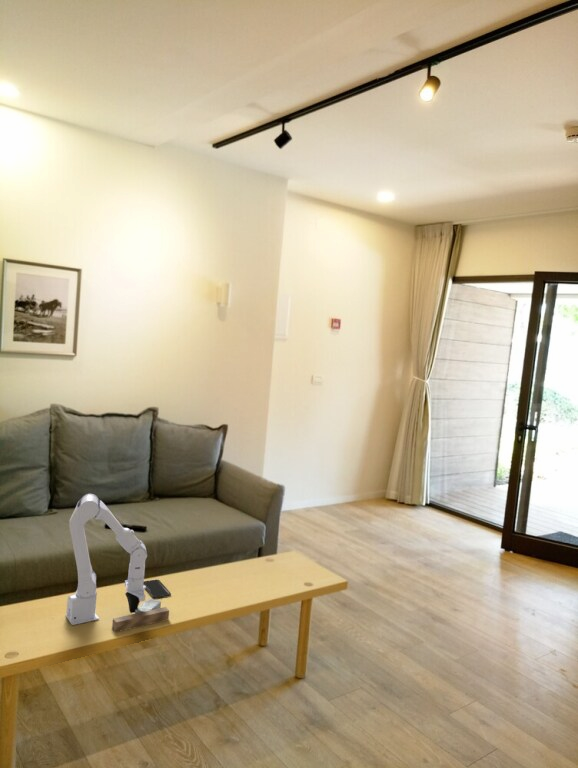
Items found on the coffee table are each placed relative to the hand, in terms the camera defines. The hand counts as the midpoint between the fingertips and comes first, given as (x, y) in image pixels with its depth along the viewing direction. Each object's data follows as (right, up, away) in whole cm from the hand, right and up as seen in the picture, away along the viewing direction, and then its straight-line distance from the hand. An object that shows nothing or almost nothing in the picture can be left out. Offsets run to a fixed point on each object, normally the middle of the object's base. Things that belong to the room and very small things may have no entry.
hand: (132, 611), depth 205 cm
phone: (+3, -1, +22) cm, 22 cm away
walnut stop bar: (+5, -2, -6) cm, 8 cm away
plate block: (+5, -2, +3) cm, 6 cm away
